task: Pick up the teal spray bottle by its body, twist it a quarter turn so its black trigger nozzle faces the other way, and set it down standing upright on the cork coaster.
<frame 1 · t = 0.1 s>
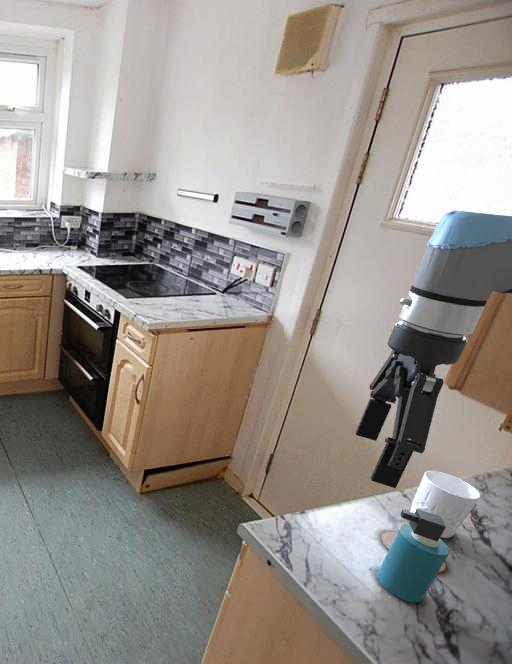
hand: (373, 458, 69), 23 cm above the counter, tool pointing down, fingers open, 13 cm apart
coaster: (412, 551, 83), on the counter
spray bottle: (399, 585, 76), on the counter
white cup: (429, 525, 90), on the counter
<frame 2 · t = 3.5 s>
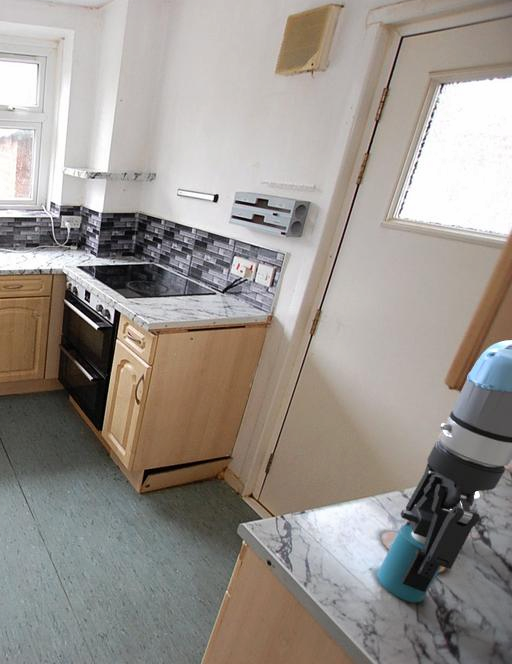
hand: (407, 570, 74), 3 cm above the counter, tool pointing down, fingers closed on spray bottle, 6 cm apart
spray bottle: (399, 585, 76), on the counter, touching gripper
everything else where it was.
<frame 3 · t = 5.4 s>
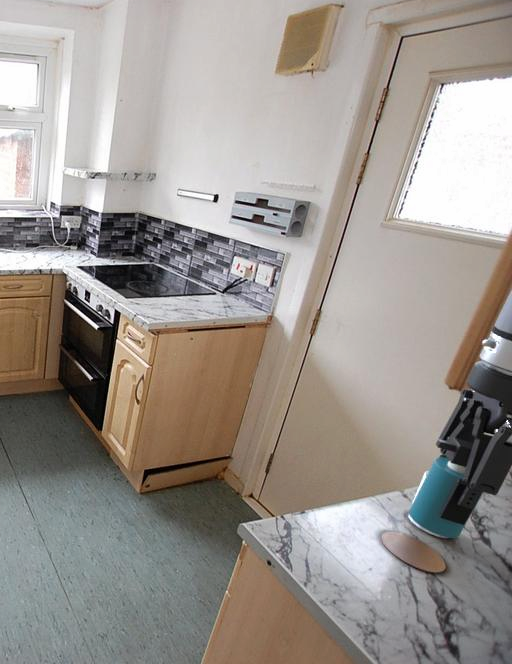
hand: (442, 505, 70), 17 cm above the counter, tool pointing down, fingers closed on spray bottle, 6 cm apart
spray bottle: (433, 522, 71), point 13 cm above the counter, touching gripper
everything else where it was.
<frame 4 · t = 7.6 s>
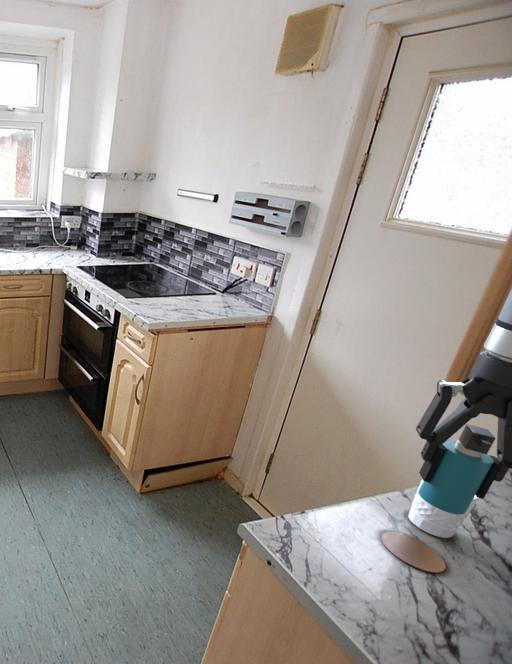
hand: (450, 485, 75), 16 cm above the counter, tool pointing down, fingers closed on spray bottle, 6 cm apart
spray bottle: (441, 501, 77), point 13 cm above the counter, touching gripper
everything else where it was.
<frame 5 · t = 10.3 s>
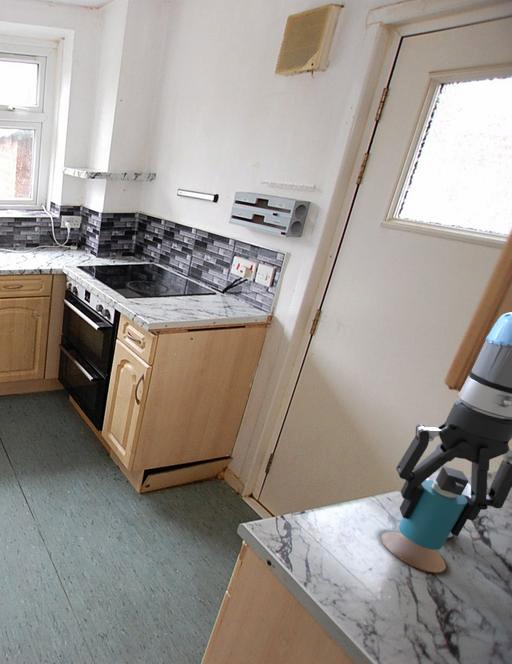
hand: (427, 521, 81), 7 cm above the counter, tool pointing down, fingers closed on spray bottle, 6 cm apart
spray bottle: (419, 536, 82), point 4 cm above the counter, touching gripper
everything else where it was.
when the fingers open (4 cm above the counter, at t = 12.0 s): spray bottle stays where it is, resting on coaster.
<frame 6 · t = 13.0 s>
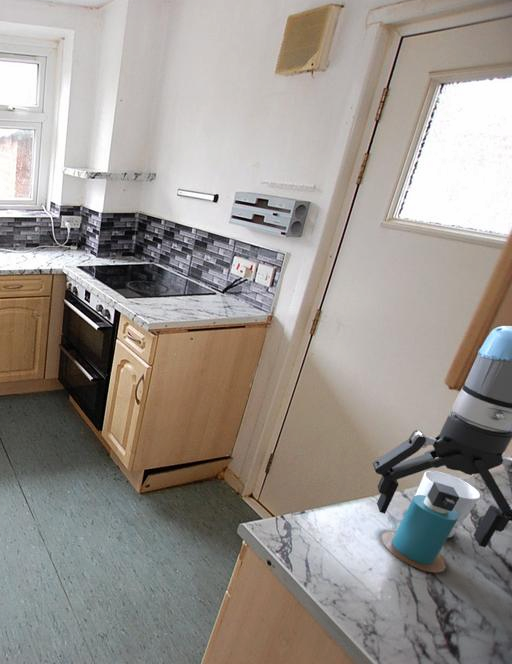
hand: (428, 524, 81), 6 cm above the counter, tool pointing down, fingers open, 13 cm apart
spray bottle: (412, 550, 83), resting on coaster
everything else where it was.
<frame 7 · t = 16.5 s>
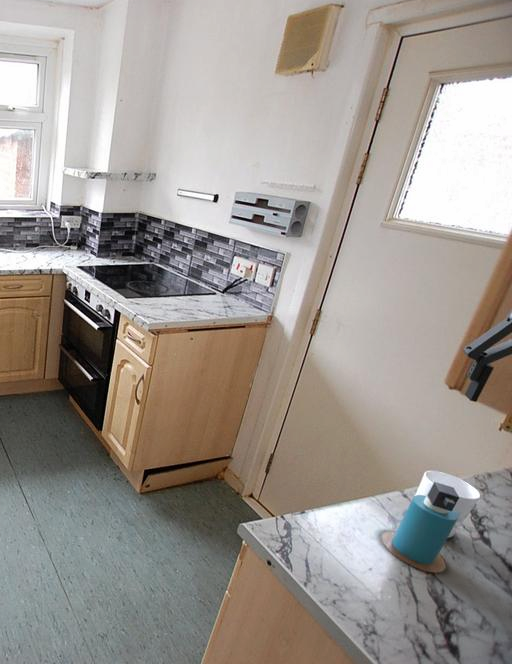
nothing on the counter moved.
at the end: spray bottle 0.1 cm from the target spot, resting on coaster; spray bottle tilted 0°; the gripper is holding nothing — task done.
